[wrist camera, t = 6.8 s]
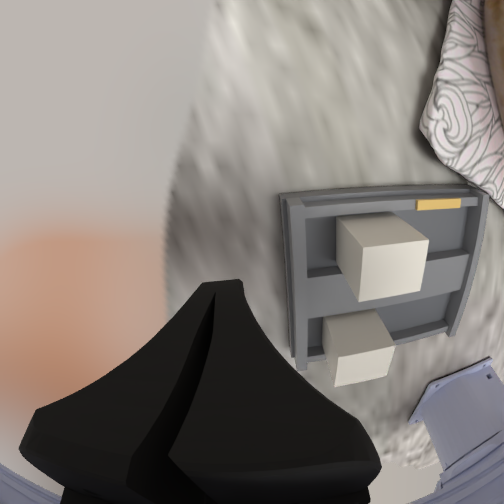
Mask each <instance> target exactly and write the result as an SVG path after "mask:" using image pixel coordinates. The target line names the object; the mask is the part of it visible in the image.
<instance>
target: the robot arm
mask: <svg viewBox="0 0 504 504" xmlns="http://www.w3.org/2000/svg"><path fill="white" fill-rule="evenodd" d="M492 361H493V359H492V358H488V359H486V360H484V361H482V362H480V363H478V364H475V365H473V366H471V367H469V368H466V369H464V370H462V371H459V372H457V373H454V374H452V375H449V376H447V377H444V378H442V379H439V380H436V381H433V382H431V383H430V384H429V385H428V387H427V389H426V391H425V393H424V395H423V397H422V398H421V400H420V402H419V404H418V406H417V408H416V409H415V411H414V413H413V414H412V416H411V418H410V420H409V421H408V423H409V424H414V423H417V422H419V421H422V420H423V421H424V423H425V426H426V428H427V430H428V433H429V435H430V437H431V440H432V442H433V445H434V447H435V450H436V452H437V455H438V457H439V460H440V463H441V465H442V468H443V471H444V472H443V473H441V474H440V478H441V479H440V480H439V481H438V483H437V485H436V488H435V491H434V493H432V494H430V495H427V496H425V497H423V498H420V499H418V500H416V501H413V502H411V503H408V504H504V385H503V383H502V382H501V380H500V379H499V377H498V376H497V374H496V373H495V371H494V370H493V368H492V367H491V363H492ZM19 450H20V453H21V454H22V456H23V457H24V458H25V459H26V460H27V461H28V462H30V463H31V464H32V465H33V466H35V467H36V468H37V469H39V470H40V471H41V472H43V473H45V474H46V475H47V476H49V477H50V478H52V479H53V480H55V481H56V482H58V483H59V484H61V485H63V486H64V487H65V488H64V491H63V495H62V497H61V496H59V495H57V494H55V493H52V492H50V491H48V490H46V489H44V488H42V487H40V486H38V485H36V484H35V483H33V482H31V481H29V480H27V479H25V478H23V477H22V476H20V475H18V474H17V473H15V472H13V471H12V470H10V469H9V468H7V467H5V466H4V465H2V464H1V463H0V504H368V503H370V495H369V490H368V486H369V485H370V483H371V482H372V481H373V480H374V479H375V478H376V477H377V475H378V474H379V472H380V470H381V468H382V466H381V462H380V458H379V455H378V453H377V451H376V449H375V446H374V444H373V442H372V441H371V439H370V437H369V435H368V434H367V432H366V430H365V429H364V427H363V426H362V424H361V423H360V421H359V420H358V419H357V418H355V417H354V416H352V415H351V414H349V413H348V412H346V411H344V410H343V409H341V408H340V407H339V406H337V405H336V404H335V403H333V402H332V401H330V400H329V399H328V398H326V397H325V396H324V395H323V394H321V393H320V392H319V391H318V390H317V389H315V388H314V387H313V386H312V385H311V384H309V383H308V382H307V381H306V380H305V379H304V378H303V377H302V376H301V375H300V374H299V373H298V372H297V371H296V370H295V369H294V368H293V367H292V366H291V365H290V364H289V363H288V362H287V361H286V360H285V359H284V358H283V357H282V355H281V354H280V353H279V352H278V351H277V349H276V348H275V347H274V346H273V344H272V343H271V342H270V340H269V339H268V338H267V336H266V335H265V333H264V332H263V330H262V329H261V327H260V326H259V324H258V322H257V321H256V319H255V317H254V315H253V313H252V311H251V309H250V307H249V305H248V303H247V301H246V298H245V295H244V288H243V282H242V281H241V280H239V279H234V280H224V281H214V282H204V283H202V284H201V285H200V286H199V287H198V288H197V290H196V291H195V292H194V293H193V294H192V295H191V297H190V298H189V299H188V300H187V301H186V303H185V304H184V305H183V306H182V307H181V308H180V310H179V311H178V312H177V313H176V314H175V315H174V316H173V318H172V319H171V320H170V321H169V322H168V323H167V324H166V325H165V326H164V327H163V328H162V329H161V330H160V331H159V332H158V333H157V334H156V335H155V336H154V337H153V338H152V339H151V340H150V341H149V342H148V343H147V344H146V345H144V346H143V347H142V348H141V349H140V350H139V351H137V352H136V353H135V354H134V355H132V356H131V357H130V358H129V359H127V360H126V361H124V362H123V363H122V364H120V365H119V366H117V367H116V368H115V369H113V370H112V371H110V372H109V373H107V374H106V375H105V376H103V377H101V378H100V379H98V380H97V381H95V382H93V383H92V384H90V385H88V386H86V387H85V388H83V389H81V390H79V391H77V392H75V393H73V394H71V395H69V396H67V397H65V398H63V399H60V400H58V401H56V402H53V403H51V404H49V405H46V406H44V407H42V408H39V409H37V410H36V411H35V413H34V415H33V417H32V419H31V421H30V423H29V426H28V428H27V430H26V432H25V434H24V437H23V439H22V441H21V444H20V446H19Z"/></svg>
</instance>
